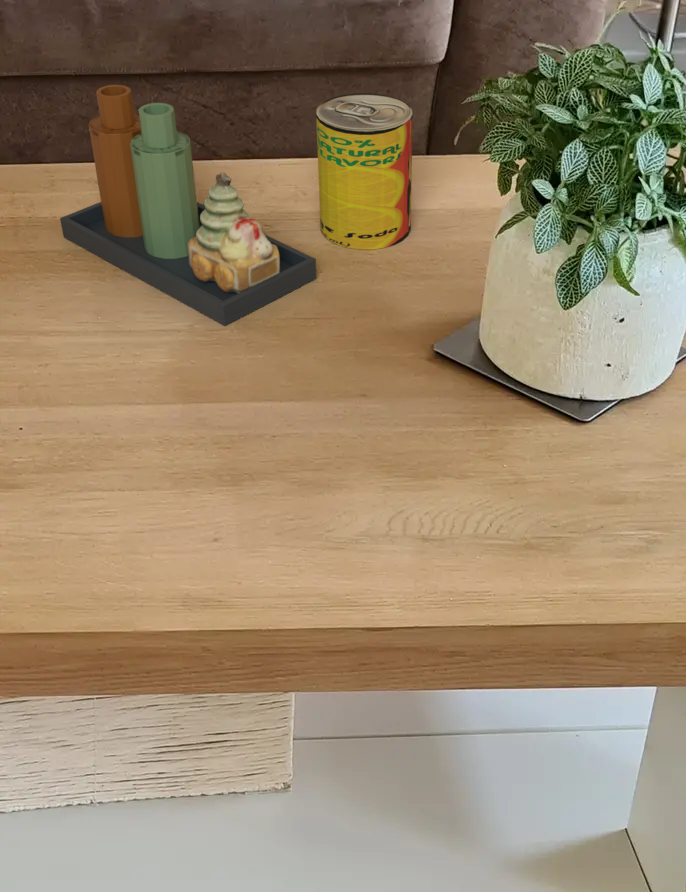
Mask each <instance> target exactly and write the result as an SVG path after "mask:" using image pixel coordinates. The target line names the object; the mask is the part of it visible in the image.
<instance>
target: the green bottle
mask: <svg viewBox="0 0 686 892" xmlns="http://www.w3.org/2000/svg"><path fill="white" fill-rule="evenodd" d="M137 111H138V114H139V118H140V126H141V133H142V134H139V135H137V136H135V137H134V138H133V139H132V140H131V143H130V147H131V155H132V162H133V169H134V176H135V183H136V190H137V197H138V204H139V211H140V218H141V225H142V232H143V239H144V246H145V249H146V251H147V253H149V254H151V255H153V256H154V257H159V258H164V259H176V258H181V257H186V256H188V241H189V240H190V239H191V238H193V237H196V233H197V230H198V229H199V228H200V226H199V217H198V207H197V202H198V199H197V191H196V181H195V172H194V171H195V170H194V164H193V163H194V162H193V152H192V145H191V143H192V142H191V139H190V137H189V136H188V135H187V134H186V133H184V132H181V131H177V130H178V129H177V123H176V121H177V120H176V114H175V113H176V112H175V109H174V106H173V105H171V104H169V103H166V102H151V103H147V104H144V105H142V106H140V107H139V109H137Z"/></svg>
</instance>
